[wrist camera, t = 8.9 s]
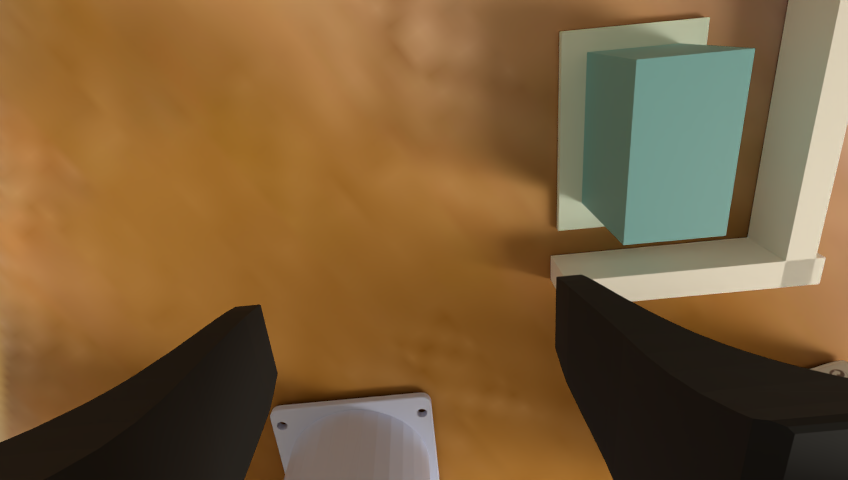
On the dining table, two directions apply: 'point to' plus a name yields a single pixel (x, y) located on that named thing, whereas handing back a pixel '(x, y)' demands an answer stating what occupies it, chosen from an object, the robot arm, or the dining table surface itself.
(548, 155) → the dining table surface
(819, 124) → the corner walls
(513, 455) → the dining table surface
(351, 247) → the dining table surface
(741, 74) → the teal brick
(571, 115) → the pad
